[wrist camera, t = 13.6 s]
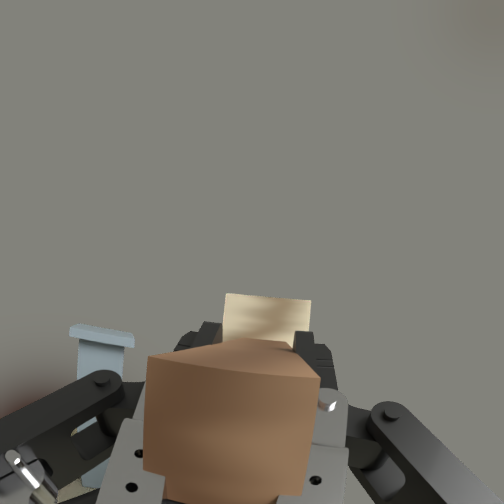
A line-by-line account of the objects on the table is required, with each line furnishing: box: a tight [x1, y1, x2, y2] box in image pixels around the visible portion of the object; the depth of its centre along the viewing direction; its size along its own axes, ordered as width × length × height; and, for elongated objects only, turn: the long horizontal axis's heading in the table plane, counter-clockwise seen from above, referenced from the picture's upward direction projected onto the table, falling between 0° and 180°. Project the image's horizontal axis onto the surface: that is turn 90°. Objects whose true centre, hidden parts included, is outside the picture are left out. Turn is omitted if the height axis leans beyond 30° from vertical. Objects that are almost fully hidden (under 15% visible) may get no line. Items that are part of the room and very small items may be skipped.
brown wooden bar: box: [143, 293, 321, 504], centre depth 15 cm, size 6×22×6 cm, turn 175°
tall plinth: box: [69, 323, 135, 488], centre depth 43 cm, size 11×12×32 cm
